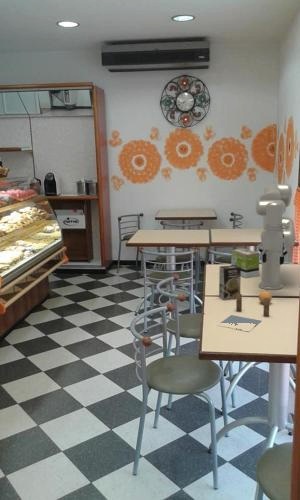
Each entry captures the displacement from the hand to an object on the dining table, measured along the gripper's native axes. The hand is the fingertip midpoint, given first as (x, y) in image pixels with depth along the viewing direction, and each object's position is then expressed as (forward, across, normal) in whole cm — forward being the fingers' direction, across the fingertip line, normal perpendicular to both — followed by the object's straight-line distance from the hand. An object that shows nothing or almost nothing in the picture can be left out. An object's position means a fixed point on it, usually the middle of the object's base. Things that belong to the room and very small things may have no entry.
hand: (272, 263), depth 208 cm
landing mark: (+18, 0, +40) cm, 43 cm away
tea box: (+18, +30, -35) cm, 50 cm away
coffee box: (+18, +18, +10) cm, 28 cm away
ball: (+15, 0, +10) cm, 18 cm away
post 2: (+18, -7, +26) cm, 32 cm away
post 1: (+18, +6, +26) cm, 32 cm away
